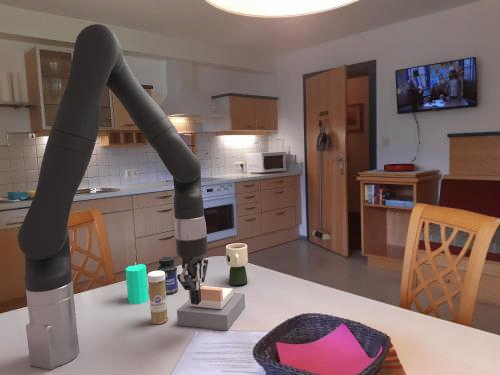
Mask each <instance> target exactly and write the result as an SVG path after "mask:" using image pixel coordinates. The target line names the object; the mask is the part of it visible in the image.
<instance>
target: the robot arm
mask: <svg viewBox="0 0 500 375" xmlns="http://www.w3.org/2000/svg"><path fill="white" fill-rule="evenodd" d="M121 44H122V43H121V42H120V39H119V38H118V36H117V35H116V34H115V32H114V31H113V30H112V29H111V28H109V27H108V26H106V25H104V24H99V23H92V24H90V25H87V26H86V27H84V28H83V29H82V30H81V31H80V32H79V33H78V35H77V36H76V39H75V42H74V47H73V53H72V59H71V63H70V64H71V65H70V69H69V74H68V79H67V83H66V86H65V89H64V92H63V94H62V96H61V99H60V101H59V104H58V108H57V110H56V114H55V115H54V116H55V117H54V119H53V122H52V125H51V127H50V131H49V133H48V138H47V141H46V144H45V148H44V151H43V152H44V153H43V154H42V155H43V156H42V160H41V164H40V169H39V175H38V179H37V180H38V181H37V185H36V189H35V193H34V195H33V198H32V201H31V203H30V206H29V208H28V210H27V213H26V215H25V217H24V219H23V221H22V223H21V225H20V228H18V229H19V230H18V232H17V238H16V239H17V244H18V248H19V249H20V252H22V254H23V255H24V261H25V262H24V263H25V267H24V268H25V271H24V284H25V285H24V287H25V292H26V293H25V295H26V302H27V303H26V304H27V312H28V313H27V314H28V318H29V323H26V326H25V331H26V339H27V340H26V341H27V346H28V347H27V348H28V355H29V357H28V358H29V365H30V367H35V368H36V367H37V368H40V369H41V368H42V369H47V370H54V369H55V368H57V367H59V366H62V365H66V364H67V363H69V362H71V361H72V360H74V359H75V358H76V357H78V355H79V354H80V345H79V342H80V341H79V334H78V333H79V332H78V325H77V316H76V315H77V314H76V306H75V305H76V304H75V295H74V284H73V275H72V274H73V273H72V256H71V255H72V254H71V246H70V245H71V244H70V235H69V227H68V223H69V218H70V213H71V209H72V204H73V202H74V199H75V196H76V194H77V192H78V190H79V187H80V186H81V183H82V181H83V178H84V177H85V175H86V172H87V169H88V166H89V165H90V161H91V159H92V156H93V153H94V150H95V146H96V143H97V140H98V135H99V129H100V122H101V111H102V103H103V102H102V101H103V96H104V92H105V89H106V87H107V88H109V90H110V91H111V92H112V94H113V95H114V96H115V97H116V98H117V99H118V101H119V102H120V104H121V105H122V106H123V108H124V110H125V111H126V113H127V114H128V116H129V117H130V119H131V120H132V122H133V123H134V125H135V126H136V128H137V129H138V130H139V132H140V133H141V134H142V136H143V137H144V138H145V140H146V141H147V143H148V144H149V145H150V146H151V147H152V148H153V150H154V151H155V153H157V155H158V157H159V158H160V160H161V162H162V163H163V165H164V166H165V167H166V170H167V171H168V172H169V174H170V175H171V176H172V179H173V182H172V183H173V188H174V190H173V191H174V196H173V210H174V211H173V213H174V237H175V239H174V240H175V249H176V250H175V251H176V256H177V257H179V258H181V259H182V262H181V268H182V271H181V273H177V279H178V283H180V285H181V286H182V288H183V290H184V291H189V290H190V299H191V304H195V305H198V304H199V303H200V302H201V289H200V288H201V287H203V283H205V281H206V280H205V279H206V275H207V270H208V265H209V260H208V259H204V256H205V255H206V254H207V253H208V251H209V250H208V249H209V248H208V234H207V233H208V232H207V224H206V219H205V207H204V198H203V193H202V174H201V173H202V169H201V168H202V166H201V162H200V160H199V158H198V156H197V155H195V154H194V152H193V151H192V150H191V149H190V147H189V146H188V145H187V143H186V142H185V141H184V140H183V138H182V137H181V135H180V133H179V131H178V129H177V128H176V127H175V125H174V124H173V123H172V121H171V119H170V117H168V116H167V114H166V113H165V112H164V110H163V109H162V108H161V107H160V105H159V104H158V103H157V102H156V101H155V100H154V99H153V97H151V95H150V94H149V93H148V92H147V91H146V90H145V89H144V87H143V86H142V85H141V83H140V82H139V81H138V79H137V78H136V76H135V74H134V73H133V71H132V70H131V67H130V66H129V64H128V62H127V60H126V58H125V55H124V51H123V48H122V45H121Z"/></svg>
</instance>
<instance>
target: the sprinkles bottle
mask: <svg viewBox="0 0 500 375" xmlns="http://www.w3.org/2000/svg"><path fill="white" fill-rule="evenodd" d="M147 284H148V298H149V308H150V309H149V310H150V318H151V319H150V322H151V323H152V325H163V324H164V323H166V322H168V319H169V317H168V304H167V295H166V289H165V272H164V271H158V270H154V271H150V272H148V274H147Z"/></svg>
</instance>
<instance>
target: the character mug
mask: <svg viewBox="0 0 500 375" xmlns="http://www.w3.org/2000/svg"><path fill="white" fill-rule="evenodd" d="M248 253H249V252H248V244H246V243H241V242H237V243H236V242H235V243H231V244H230V243H229V244H227V245H226V246H225V260H226V265H227V266H229V267H230V268H229V274H228V275H229V276H228V284H229V285H231V286H240V285H243V284H247V283H248V275H247V270H246V266H247V265H248V264H249V257H248V256H249V255H248Z"/></svg>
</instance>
